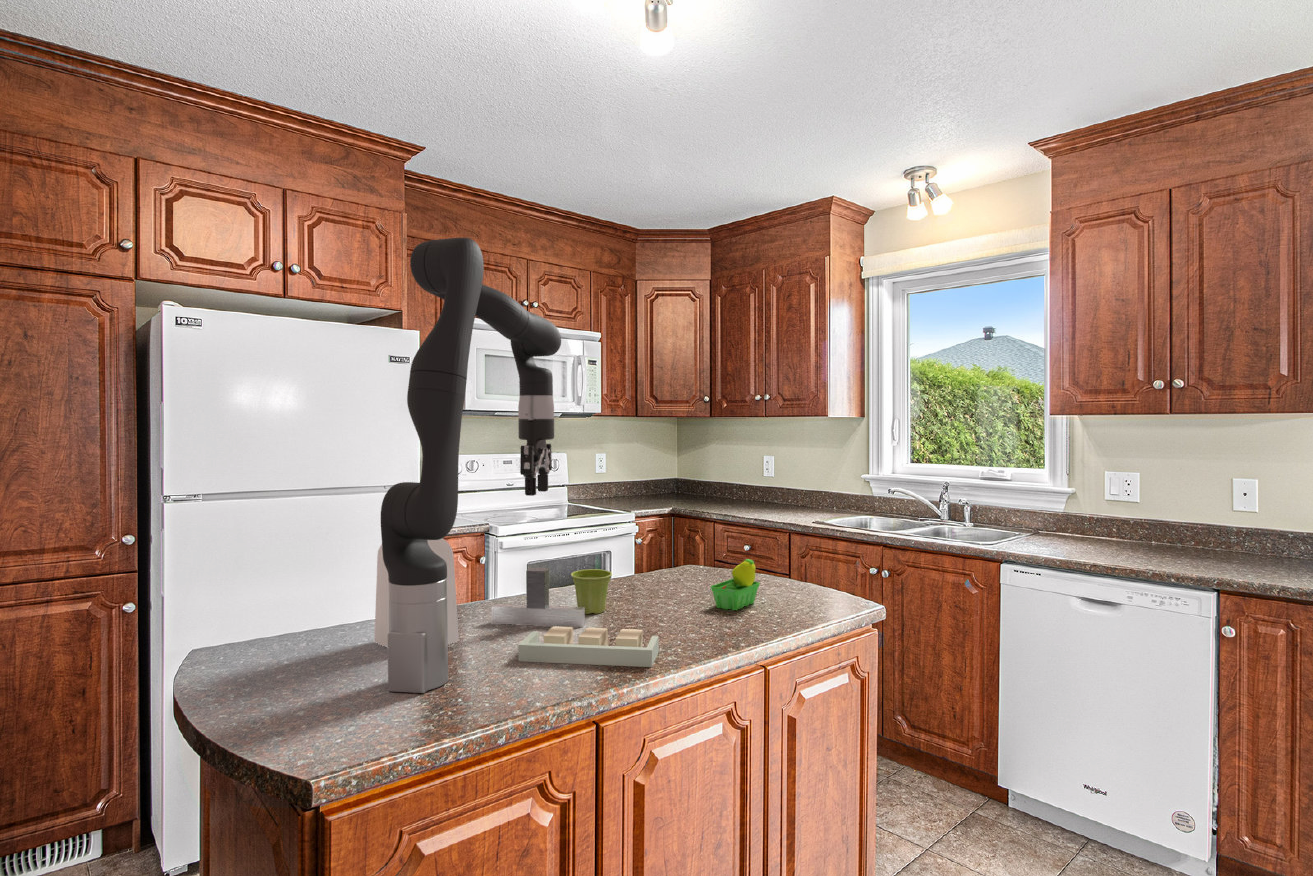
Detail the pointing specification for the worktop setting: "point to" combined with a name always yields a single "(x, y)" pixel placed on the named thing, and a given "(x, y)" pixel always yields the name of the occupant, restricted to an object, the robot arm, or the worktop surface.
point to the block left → (559, 635)
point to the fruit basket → (737, 588)
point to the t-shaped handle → (538, 606)
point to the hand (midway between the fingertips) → (536, 493)
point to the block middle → (594, 637)
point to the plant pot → (591, 589)
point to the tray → (587, 653)
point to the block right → (630, 638)
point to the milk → (382, 594)
